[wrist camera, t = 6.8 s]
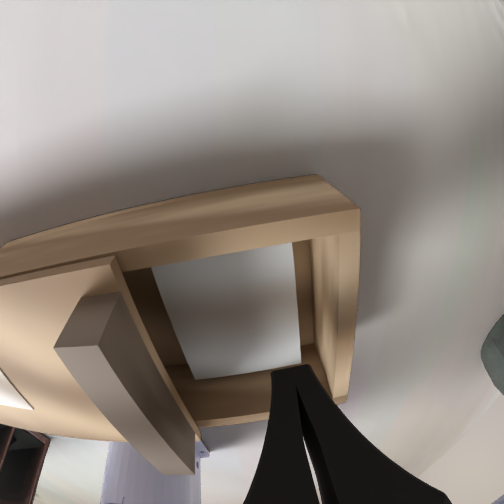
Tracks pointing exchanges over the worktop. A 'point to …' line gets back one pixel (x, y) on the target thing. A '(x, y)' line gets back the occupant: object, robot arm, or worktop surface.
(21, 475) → the letter holder
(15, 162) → the worktop surface
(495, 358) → the vodka
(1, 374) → the mailer lid
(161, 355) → the box
